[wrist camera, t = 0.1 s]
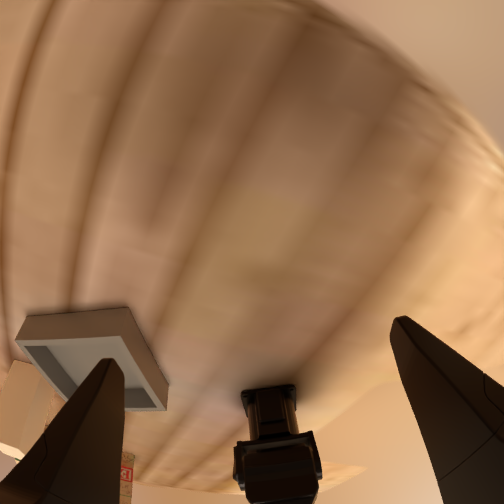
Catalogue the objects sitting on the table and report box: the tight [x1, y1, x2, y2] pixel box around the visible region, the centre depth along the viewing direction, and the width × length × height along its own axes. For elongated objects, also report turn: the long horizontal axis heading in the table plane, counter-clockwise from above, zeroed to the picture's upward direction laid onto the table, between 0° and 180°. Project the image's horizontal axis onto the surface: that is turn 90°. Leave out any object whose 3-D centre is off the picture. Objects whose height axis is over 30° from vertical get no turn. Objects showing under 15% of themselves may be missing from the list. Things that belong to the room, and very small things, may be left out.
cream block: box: [0, 360, 55, 460], centre depth 28 cm, size 5×5×12 cm
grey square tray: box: [15, 307, 169, 411], centre depth 29 cm, size 13×13×4 cm
